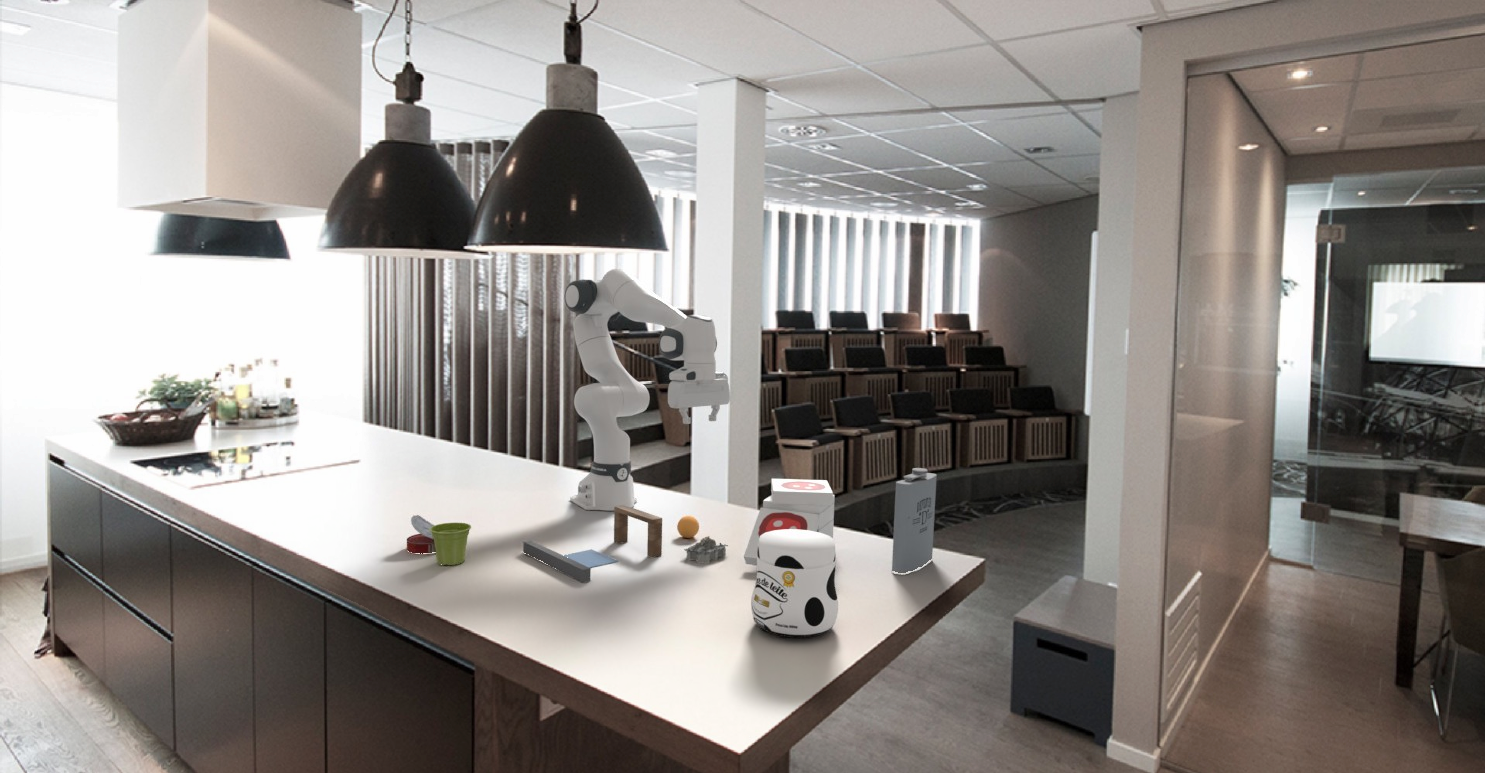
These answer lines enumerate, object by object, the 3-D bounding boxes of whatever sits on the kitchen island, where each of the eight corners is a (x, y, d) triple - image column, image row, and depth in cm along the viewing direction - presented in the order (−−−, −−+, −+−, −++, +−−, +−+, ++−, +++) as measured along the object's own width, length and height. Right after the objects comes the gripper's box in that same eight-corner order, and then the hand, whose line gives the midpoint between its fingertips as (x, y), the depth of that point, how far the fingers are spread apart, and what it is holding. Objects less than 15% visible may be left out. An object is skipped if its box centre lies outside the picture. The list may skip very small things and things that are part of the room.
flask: (906, 577, 196) (912, 474, 193) (889, 572, 199) (894, 471, 196) (937, 560, 210) (942, 464, 207) (920, 556, 212) (925, 462, 210)
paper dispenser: (735, 571, 197) (738, 497, 195) (775, 539, 225) (777, 474, 223) (812, 582, 190) (815, 506, 188) (843, 548, 218) (846, 482, 216)
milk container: (737, 635, 158) (740, 545, 156) (767, 606, 174) (769, 523, 172) (824, 651, 152) (828, 557, 150) (846, 619, 168) (850, 534, 166)
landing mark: (550, 558, 202) (550, 557, 202) (591, 549, 210) (591, 549, 210) (575, 571, 193) (575, 570, 193) (618, 561, 201) (618, 560, 201)
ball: (672, 536, 224) (673, 515, 223) (689, 533, 228) (690, 512, 227) (686, 541, 220) (686, 520, 219) (703, 538, 224) (703, 516, 223)
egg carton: (709, 550, 214) (709, 535, 214) (730, 556, 209) (731, 540, 209) (680, 558, 206) (681, 543, 205) (703, 565, 201) (703, 549, 201)
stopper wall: (523, 553, 205) (523, 541, 205) (530, 551, 207) (530, 540, 207) (582, 582, 185) (582, 569, 185) (590, 580, 186) (590, 568, 186)
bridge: (652, 557, 205) (652, 519, 204) (613, 542, 217) (614, 506, 216) (661, 555, 207) (662, 517, 206) (623, 540, 219) (623, 504, 219)
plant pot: (422, 561, 197) (422, 526, 196) (459, 553, 203) (459, 519, 203) (441, 571, 190) (441, 534, 189) (478, 562, 197) (478, 527, 196)
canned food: (427, 560, 212) (440, 523, 216) (450, 564, 206) (463, 526, 210) (389, 549, 204) (404, 511, 207) (413, 553, 198) (427, 513, 202)
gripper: (720, 371, 237) (720, 418, 238) (664, 373, 223) (664, 424, 224) (734, 372, 233) (734, 420, 234) (678, 375, 219) (678, 426, 220)
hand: (699, 422), depth 229 cm, fingers open, 8 cm apart
